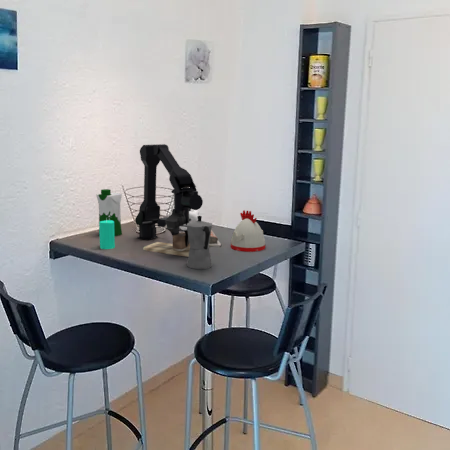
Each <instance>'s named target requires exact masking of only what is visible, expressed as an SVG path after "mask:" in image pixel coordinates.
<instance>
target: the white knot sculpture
mask: <svg viewBox="0 0 450 450" xmlns="http://www.w3.org/2000/svg"><path fill="white" fill-rule="evenodd" d="M197 216H200V210H199V209H198V210H193V209H192V211H189V218H190V219H191V221H190V222H193V221H198V217H197ZM179 230H182V232H184V230H187V227H182V226H180V228H179Z"/></svg>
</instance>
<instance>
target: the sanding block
mask: <svg viewBox="0 0 450 450" xmlns="http://www.w3.org/2000/svg"><path fill="white" fill-rule="evenodd" d="M185 237H186V234H185V232H184V231H182V232H179V234H176V235H174V236H172V244H173V250H177V251H183V250H185V249H188V248H190V243H189V245H188V246H187V247H186V245H185Z"/></svg>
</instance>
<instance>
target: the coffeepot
mask: <svg viewBox="0 0 450 450" xmlns="http://www.w3.org/2000/svg"><path fill="white" fill-rule="evenodd" d="M197 217H198V221H193V222H190V223H187V231H188V238H189V243H190V250H189V256H188V258H187V263H186V266H187V268H190V269H193V270H206V269H210V268H211V267H212V264H213V263H212V258H211V251H210V247H209V242H210V235H211V229H212V228H213V223H212V222H207V221H204V220H202V218H203V217H202V215H198V216H197Z"/></svg>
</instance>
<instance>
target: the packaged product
mask: <svg viewBox="0 0 450 450" xmlns="http://www.w3.org/2000/svg"><path fill="white" fill-rule="evenodd" d="M211 247H217V248H218V247H222V243H221V242H220V241H219V238H218V237H217V235H216V234H215V232H214V230H212V229H211V235H210V242H209V248H211Z"/></svg>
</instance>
